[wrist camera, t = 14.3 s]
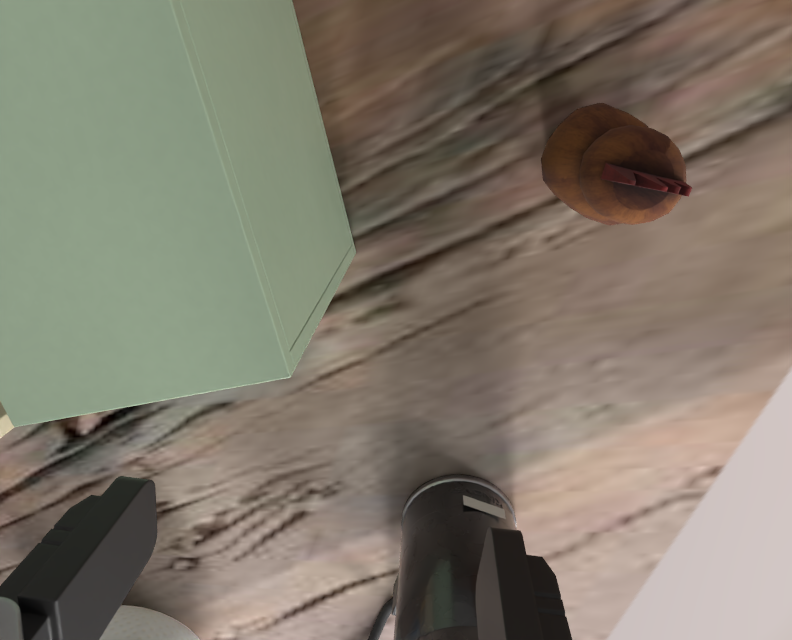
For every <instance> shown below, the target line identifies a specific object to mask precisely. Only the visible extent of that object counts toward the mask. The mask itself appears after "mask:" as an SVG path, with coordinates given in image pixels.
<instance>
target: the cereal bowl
mask: <svg viewBox="0 0 792 640" xmlns="http://www.w3.org/2000/svg"><path fill="white" fill-rule="evenodd" d="M99 640H200V639H199V637H198V636H197V635H195V634H194V632H193V631H191V630H190V629H189V628H188V627H187V626H185V625H184V624H182V623H181V622H179V621H178V620H176V619H174V618H172V617H171V616H168V615H166V614H163V613H162V612H158V611H154V610H152V609H147V608H144V607H137V606H127V605H122V606H120V607H119V609H118V610H117V612H116V614H115V615H114V617H113V618H112V620H111V622H110V623H109V625H108V626H107V628H106V630H105V631H104V633H103V634H102V636H101V638H100V639H99Z"/></svg>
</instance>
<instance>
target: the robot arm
mask: <svg viewBox="0 0 792 640" xmlns="http://www.w3.org/2000/svg"><path fill="white" fill-rule="evenodd" d="M156 539H157V514H156V494H155V484H154V482H153V481H152V480H147V479H139V478H132V477H124V476H120V477H118V478H116V479H115V481H114V482H113V483H112V484H111V485H110V486H109V488H108V489H107V490H106V491H105V492H104V494H103V495H102V496H95V495H91V496H89V497H88V498H86V499H84V500H83V501H81V502H79V503H78V504H76V505H75V506H73V507H71V508H70V509H69V510H68V511H67V512H66V513H65V514H64V515H63V517H62V518H61V519H60V520H59V521H58V522H57V523H56V524H55V525H54V529H51V530H50V531H49V532H48V533H47V534H46V536H45V537H44V538H43V539H42V542H41V543H38V544H37V546H36V547H35V548H34V549H33V550H32V551H31V552H30V553H29V554H28V556H27V557H26V558H25V559H24V560H23V561H22V562H21V563H20V565H19V566H18V567H17V568H16V569H15V570H14V571H13V572H12V573H11V575H10V576H9V577H8V578H7V579H6V580H5V581H4V582H3V583H2V585H1V586H0V640H99V639H100V638H101V636H102V634H103V633H104V631H105V630H106V628H107V626H108V625H109V623H110V622H111V620H112V618H113V617H114V615H115V614H116V612H117V610H118V609H119V607H120V605H121V604H122V602H123V601H124V599H125V597H126V596H127V594H128V593H129V591H130V589H131V588H132V586H133V585H134V583H135V581H136V580H137V578H138V577H139V575H140V573H141V572H142V570H143V569H144V567H145V565H146V564H147V562H148V560H149V559H150V557H151V555H152V552H153V550H154V547H155V543H156ZM391 612H392V615H395V616H396V618H395V631H394V640H572V637H571V633H570V629H569V626H568V622H567V618H566V617H565V610H564V606H563V602H562V600H561V594H560V591H559V587H558V583H557V579H556V575H555V574H554V573H553V571H552V570H551V568H550V567H549V566H548V564H547V563H546V562H545V560H544V559H543V557H539V556H531V555H526V551H525V546H524V541H523V536H522V533H521V531H519V530H516V518H515V514H514V510H513V507H512V505H511V503H510V501H509V500H508V498H507V497H506V496H505V494H504V493H503V492H502V491H501V490H499V489H498V488H497V487H496V486H494V485H493V484H491V483H489V482H487V481H485V480H482V479H480V478H476V477H472V476H466V475H449V476H443V477H439V478H436V479H433V480H431V481H429V482H427V483H425V484H423V485H422V486H420V487H419V488H418V489H417V490H416V491H415V492H414V493H413V494H412V495H411V496H410V497H409V499H408V500H407V502H406V504H405V506H404V510H403V514H402V541H401V552H400V565H399V574H398V576H397V579H396V581H395V584H394V592H393V599H391V600H389V601H388V602H387V603H386V604H385V605H384V606H383V608H382V610H381V611H380V613H379V615H378V617H377V619H376V622H375V624H374V626H373V629H372V631H371V633H370V636H369V638H368V640H378V639H379V637H380V634H381V632H382V630H383V627H384V625H385V623H386V621H387V619H388V617H389V615H390V614H391Z"/></svg>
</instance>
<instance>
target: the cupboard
mask: <svg viewBox="0 0 792 640" xmlns="http://www.w3.org/2000/svg"><path fill="white" fill-rule="evenodd" d="M355 254H356V250H355V246H354V242H353V238H352V234H351V230H350V226H349V222H348V218H347V214H346V210H345V207H344V203H343V199H342V195H341V191H340V187H339V183H338V179H337V175H336V171H335V167H334V163H333V159H332V155H331V151H330V147H329V144H328V140H327V136H326V132H325V128H324V124H323V120H322V116H321V112H320V108H319V104H318V100H317V96H316V92H315V88H314V84H313V81H312V77H311V73H310V69H309V65H308V61H307V57H306V53H305V49H304V45H303V41H302V37H301V33H300V29H299V25H298V21H297V18H296V14H295V10H294V6H293V2H292V0H0V401H1V403H2V405H3V407H4V409H5V411H6V413H7V415H8V417H9V419H10V421H11V422H12V424H13V426H14V427H18V426H24V425H29V424H35V423H40V422H46V421H51V420H57V419H63V418H68V417H74V416H79V415H85V414H90V413H96V412H102V411H107V410H113V409H118V408H124V407H129V406H135V405H140V404H146V403H152V402H157V401H163V400H168V399H174V398H179V397H185V396H191V395H196V394H202V393H207V392H213V391H218V390H224V389H229V388H235V387H241V386H246V385H252V384H257V383H263V382H268V381H274V380H280V379H285V378H290V377H291V376H292V374H293V372H294V370H295V368H296V366H297V364H298V362H299V360H300V358H301V356H302V355H303V353H304V351H305V349H306V347H307V345H308V343H309V341H310V339H311V337H312V336H313V334H314V332H315V330H316V328H317V326H318V324H319V322H320V320H321V318H322V317H323V315H324V313H325V311H326V309H327V307H328V305H329V303H330V301H331V299H332V298H333V296H334V294H335V292H336V290H337V288H338V286H339V284H340V282H341V280H342V279H343V277H344V275H345V273H346V271H347V269H348V267H349V265H350V263H351V261H352V259H353V258H354V256H355Z"/></svg>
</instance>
